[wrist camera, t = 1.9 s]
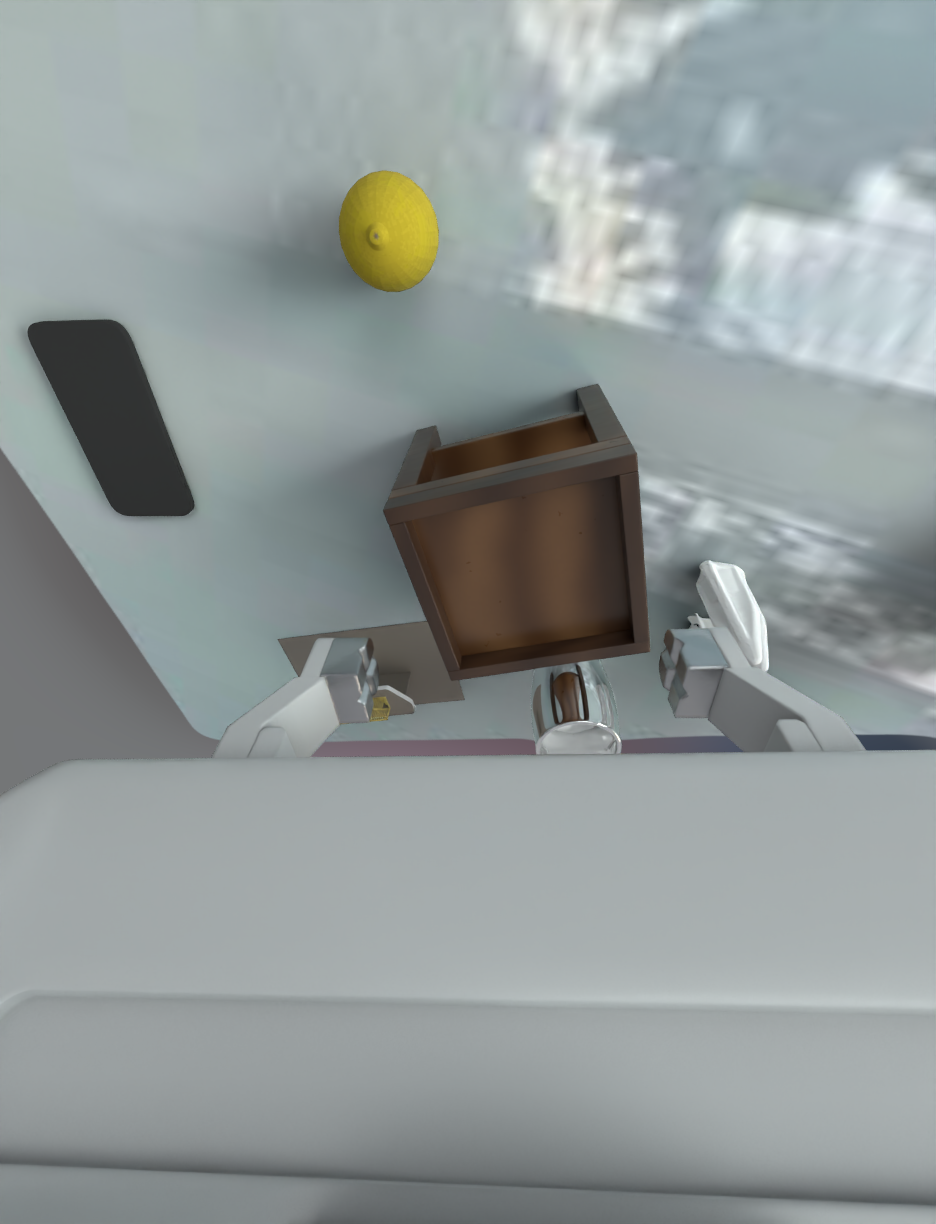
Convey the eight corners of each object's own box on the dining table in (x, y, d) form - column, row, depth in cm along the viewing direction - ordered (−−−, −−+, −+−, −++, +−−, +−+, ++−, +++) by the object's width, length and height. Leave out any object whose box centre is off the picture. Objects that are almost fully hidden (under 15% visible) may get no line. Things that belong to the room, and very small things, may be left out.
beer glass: (513, 635, 52) (516, 758, 40) (550, 587, 48) (565, 707, 36) (570, 660, 54) (589, 786, 42) (611, 615, 50) (644, 740, 38)
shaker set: (693, 549, 45) (738, 629, 36) (744, 544, 44) (802, 624, 35) (680, 650, 52) (715, 737, 43) (723, 647, 51) (768, 735, 43)
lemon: (460, 253, 33) (449, 262, 26) (389, 301, 35) (364, 320, 28) (414, 152, 30) (389, 135, 24) (340, 211, 32) (298, 209, 25)
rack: (598, 383, 37) (637, 452, 26) (615, 546, 45) (650, 652, 34) (416, 430, 40) (382, 510, 29) (463, 575, 48) (450, 681, 37)
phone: (119, 320, 35) (195, 516, 44) (126, 318, 36) (200, 511, 45) (19, 323, 36) (114, 516, 45) (28, 321, 37) (120, 512, 46)
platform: (277, 639, 54) (253, 683, 49) (440, 619, 51) (433, 664, 46) (319, 713, 61) (301, 759, 56) (464, 699, 58) (460, 746, 53)
